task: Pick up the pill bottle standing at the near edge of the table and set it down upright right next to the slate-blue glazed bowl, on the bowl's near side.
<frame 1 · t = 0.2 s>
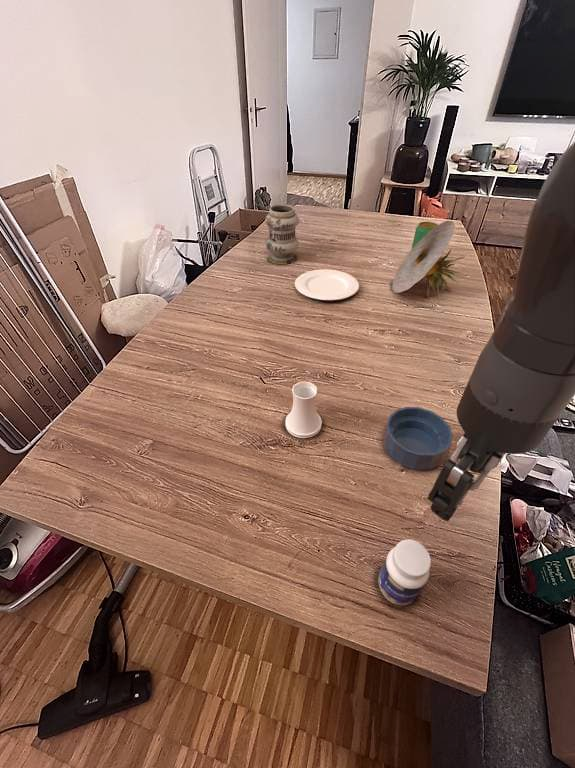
hand: (459, 490, 44), 21 cm above the table, tool pointing down, fingers open, 8 cm apart
bowl: (413, 446, 74), on the table
vase: (303, 425, 79), on the table
pill bottle: (397, 585, 55), on the table
beverage can: (420, 258, 140), on the table
plate: (326, 289, 123), on the table
apothecary jar: (282, 259, 140), on the table
potted plant: (422, 290, 122), on the table
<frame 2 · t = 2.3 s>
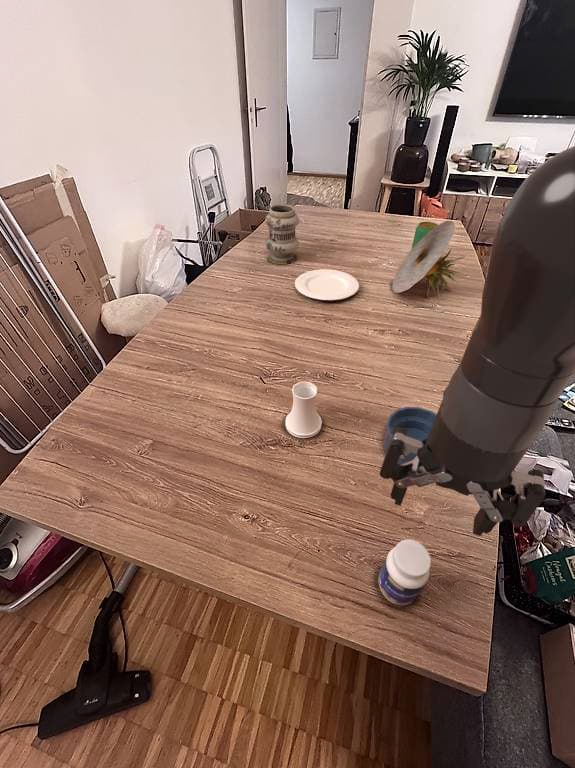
hand: (436, 512, 42), 20 cm above the table, tool pointing down, fingers open, 8 cm apart
nothing on the table moved.
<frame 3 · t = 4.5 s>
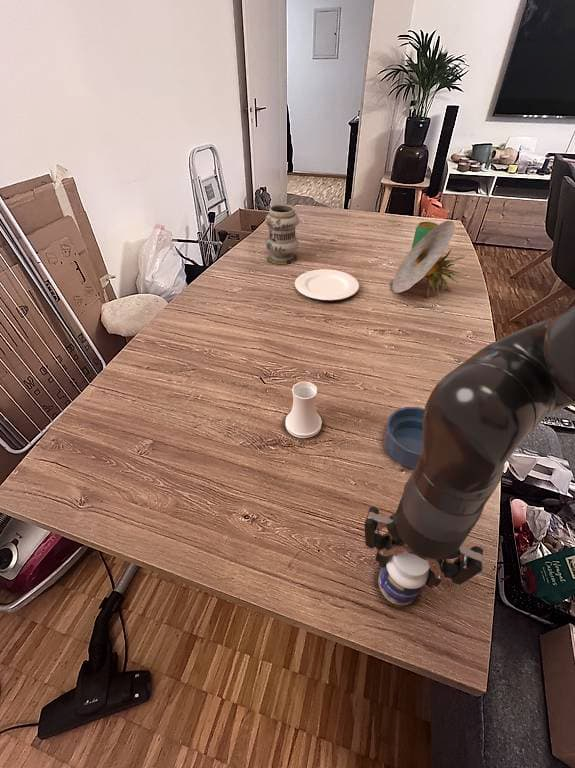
hand: (405, 570, 52), 6 cm above the table, tool pointing down, fingers closed on pill bottle, 5 cm apart
pill bottle: (397, 585, 55), on the table, touching gripper
everything else where it was.
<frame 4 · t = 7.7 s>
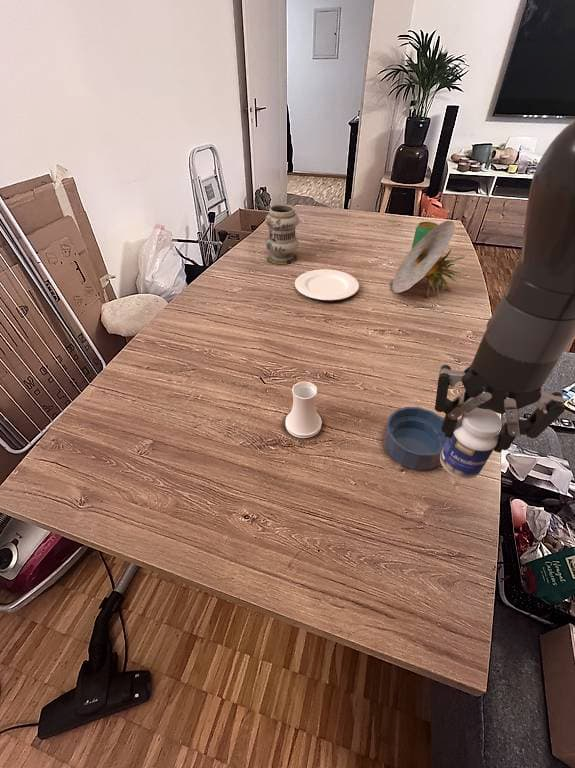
hand: (472, 439, 51), 19 cm above the table, tool pointing down, fingers closed on pill bottle, 5 cm apart
pill bottle: (459, 464, 55), point 13 cm above the table, touching gripper
everything else where it was.
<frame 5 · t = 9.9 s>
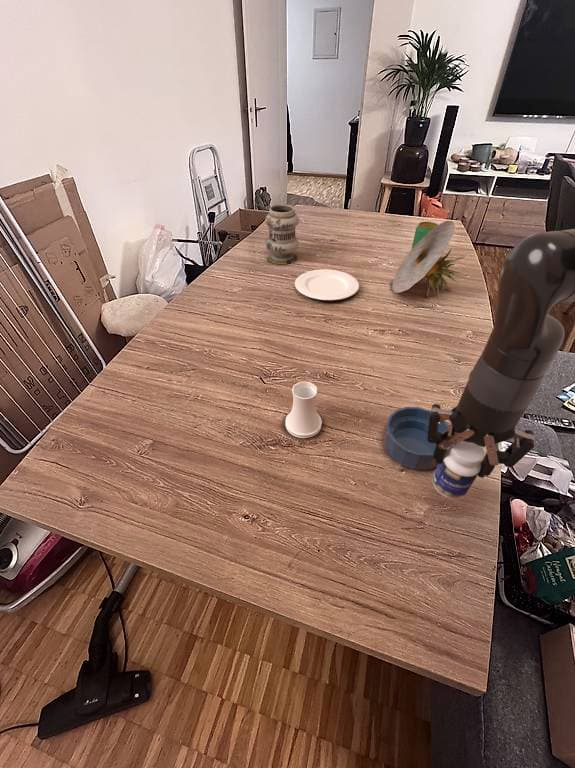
hand: (459, 465, 60), 10 cm above the table, tool pointing down, fingers closed on pill bottle, 5 cm apart
pill bottle: (448, 485, 63), point 4 cm above the table, touching gripper
everything else where it was.
when the fingers open (6 cm above the table, at t = 11.4 s): pill bottle stays where it is, on the table.
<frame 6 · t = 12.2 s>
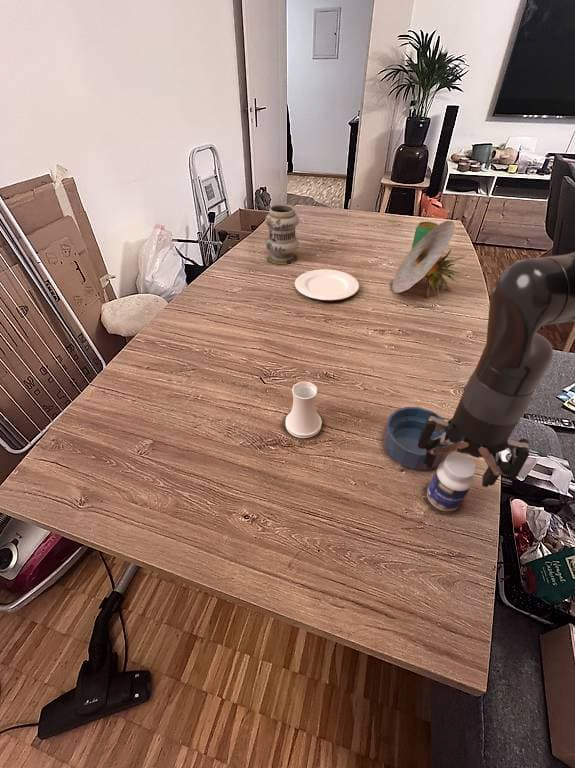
hand: (456, 473, 61), 7 cm above the table, tool pointing down, fingers open, 8 cm apart
pill bottle: (442, 498, 66), on the table
everything else where it was.
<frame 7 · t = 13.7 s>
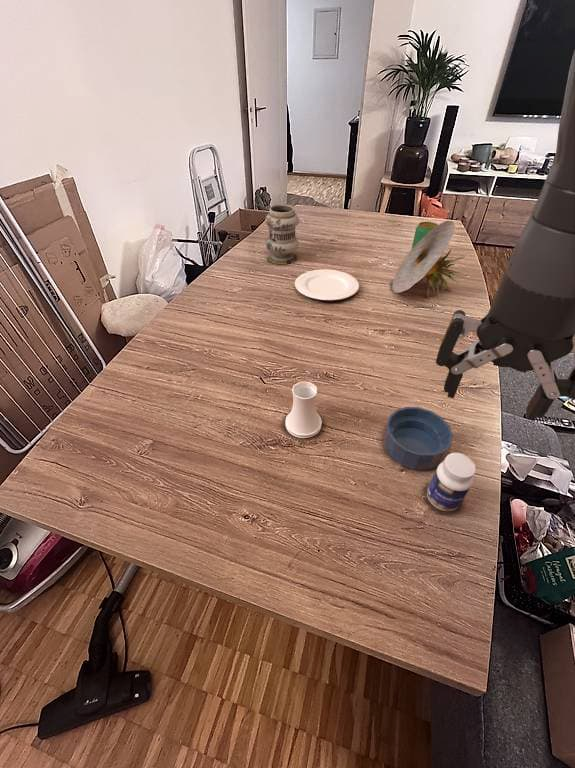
hand: (489, 404, 44), 28 cm above the table, tool pointing down, fingers open, 8 cm apart
nothing on the table moved.
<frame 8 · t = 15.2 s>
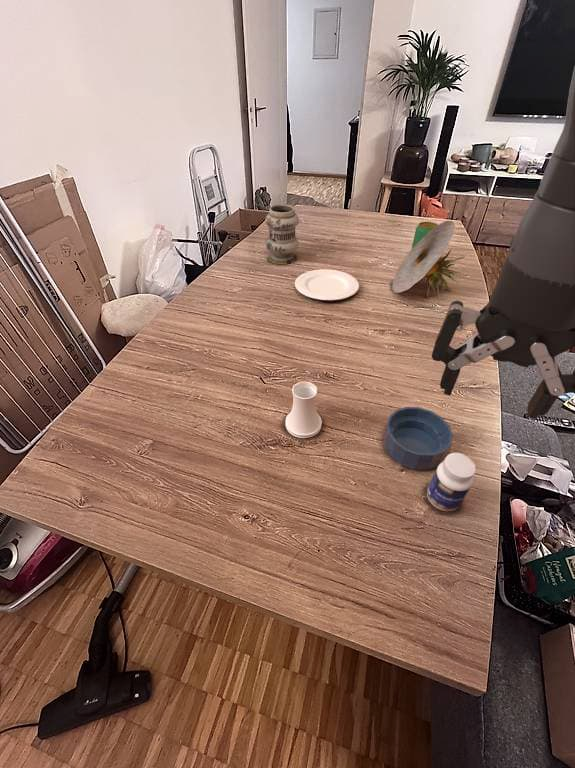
hand: (488, 401, 41), 30 cm above the table, tool pointing down, fingers open, 8 cm apart
nothing on the table moved.
at the end: pill bottle 0.1 cm from the target spot on the table beside the bowl, on the table; pill bottle tilted 0°; the gripper is holding nothing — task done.
